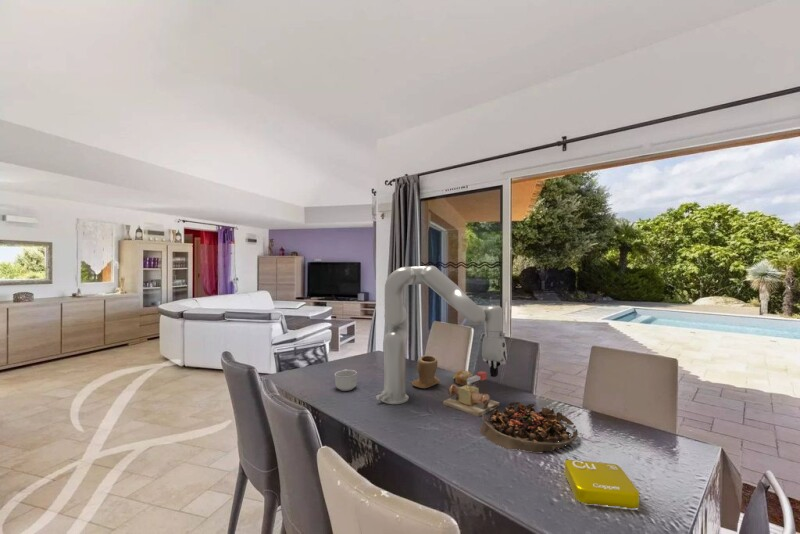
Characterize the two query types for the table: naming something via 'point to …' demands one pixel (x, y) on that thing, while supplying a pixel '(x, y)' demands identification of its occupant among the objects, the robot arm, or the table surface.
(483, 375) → the valve lever
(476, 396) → the valve pipe
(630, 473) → the table surface
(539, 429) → the food dish
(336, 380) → the teacup
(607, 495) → the element tile
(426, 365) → the stone cup
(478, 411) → the beige board
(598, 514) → the table surface
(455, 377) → the bread roll
